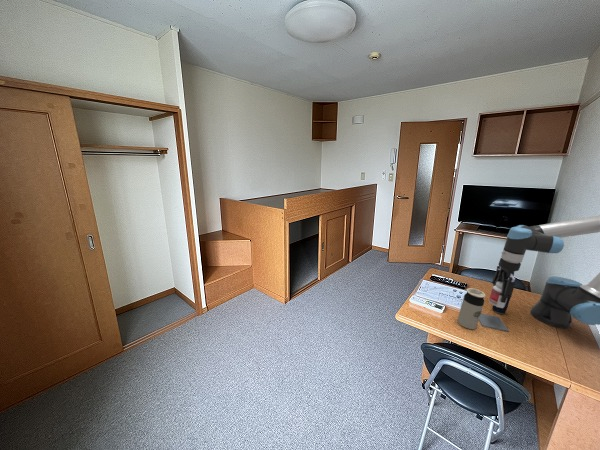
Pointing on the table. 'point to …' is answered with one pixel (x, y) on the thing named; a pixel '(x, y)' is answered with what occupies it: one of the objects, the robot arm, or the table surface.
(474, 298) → the travel mug
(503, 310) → the beverage can
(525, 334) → the table surface
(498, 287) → the pill bottle
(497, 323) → the coaster
